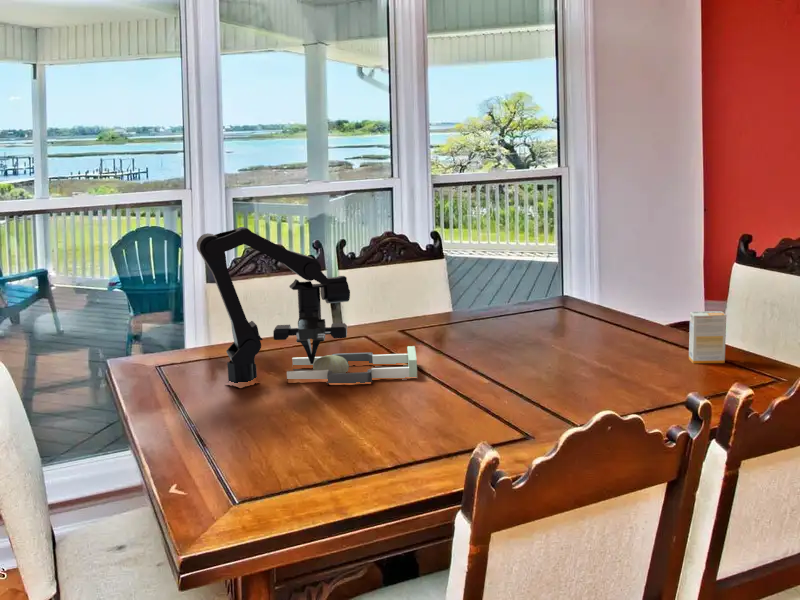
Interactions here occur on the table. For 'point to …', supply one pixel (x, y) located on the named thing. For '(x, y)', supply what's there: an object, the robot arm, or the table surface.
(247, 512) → the table surface
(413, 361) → the end block
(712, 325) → the supplement box
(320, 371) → the trap lane
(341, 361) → the sea urchin shell
